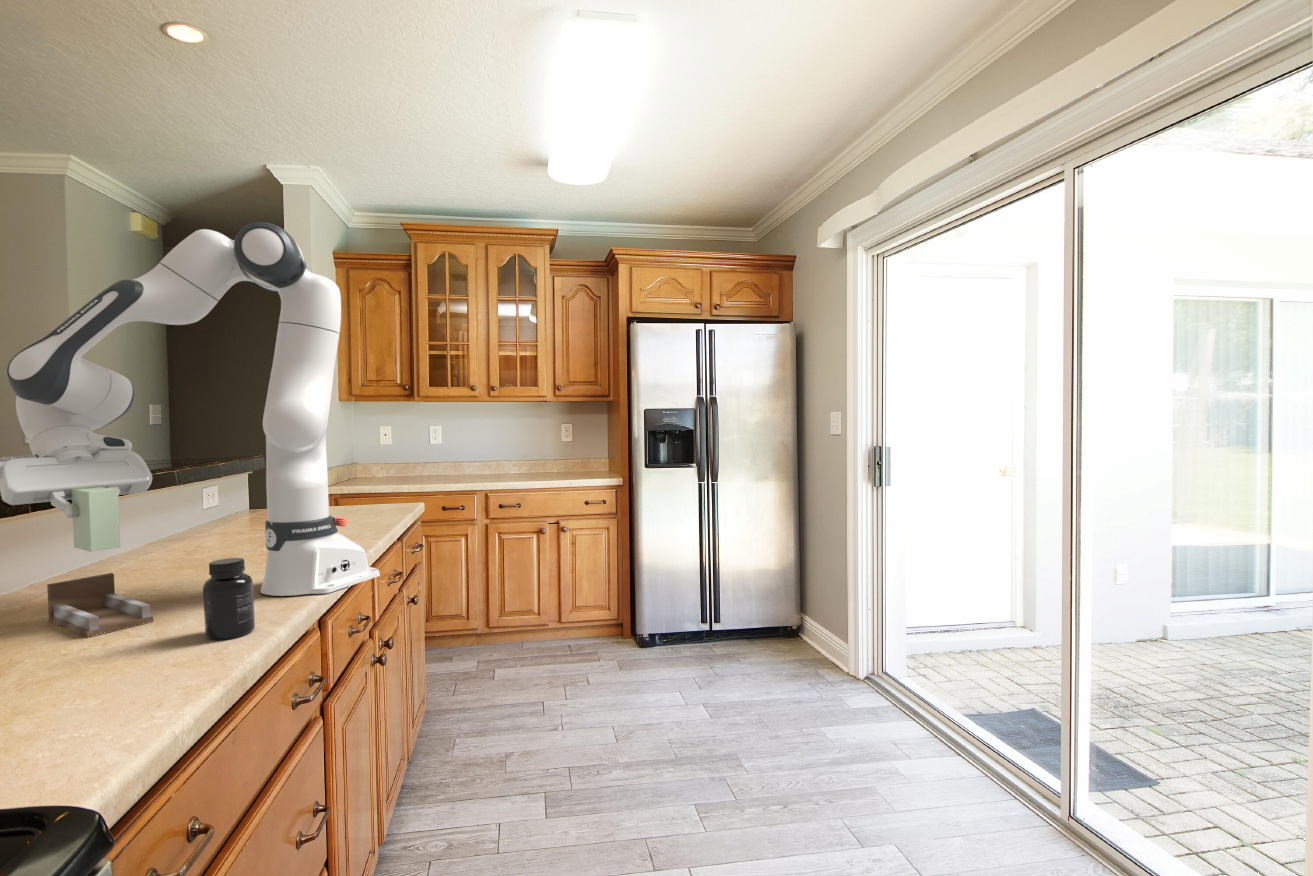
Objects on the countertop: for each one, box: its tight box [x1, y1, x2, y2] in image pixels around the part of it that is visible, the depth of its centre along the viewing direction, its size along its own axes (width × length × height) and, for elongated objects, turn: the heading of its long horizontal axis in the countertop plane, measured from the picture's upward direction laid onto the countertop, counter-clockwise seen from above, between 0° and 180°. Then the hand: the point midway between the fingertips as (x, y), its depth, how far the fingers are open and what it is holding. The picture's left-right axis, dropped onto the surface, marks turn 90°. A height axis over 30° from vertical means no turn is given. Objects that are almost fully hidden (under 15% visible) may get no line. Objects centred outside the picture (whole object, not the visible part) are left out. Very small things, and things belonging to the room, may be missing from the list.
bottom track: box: [46, 572, 154, 638], centre depth 113 cm, size 16×9×6 cm, turn 59°
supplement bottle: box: [202, 557, 256, 641], centre depth 107 cm, size 7×7×12 cm
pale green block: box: [71, 487, 121, 553], centre depth 113 cm, size 7×4×10 cm, turn 59°
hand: (93, 513), depth 113 cm, fingers closed on pale green block, 4 cm apart
